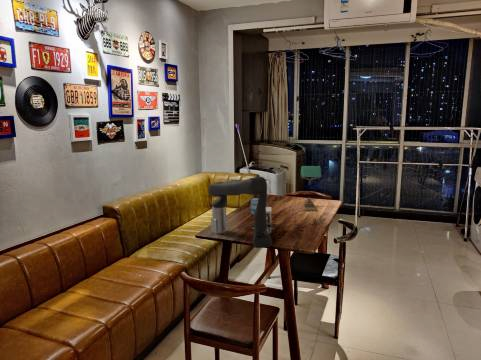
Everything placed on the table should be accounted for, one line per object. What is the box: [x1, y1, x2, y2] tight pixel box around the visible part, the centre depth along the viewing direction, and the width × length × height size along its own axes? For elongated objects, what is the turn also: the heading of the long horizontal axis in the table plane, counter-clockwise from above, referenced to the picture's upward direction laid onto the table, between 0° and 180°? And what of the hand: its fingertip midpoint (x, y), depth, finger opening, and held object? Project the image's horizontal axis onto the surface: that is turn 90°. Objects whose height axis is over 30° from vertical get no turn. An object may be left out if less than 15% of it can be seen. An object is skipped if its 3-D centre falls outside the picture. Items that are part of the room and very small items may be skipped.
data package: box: [250, 197, 268, 215], centre depth 277 cm, size 12×4×12 cm, turn 75°
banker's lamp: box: [300, 165, 322, 212], centre depth 290 cm, size 16×21×35 cm
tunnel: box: [266, 206, 272, 234], centre depth 238 cm, size 10×11×14 cm
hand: (263, 223), depth 232 cm, fingers closed on maple block, 5 cm apart
